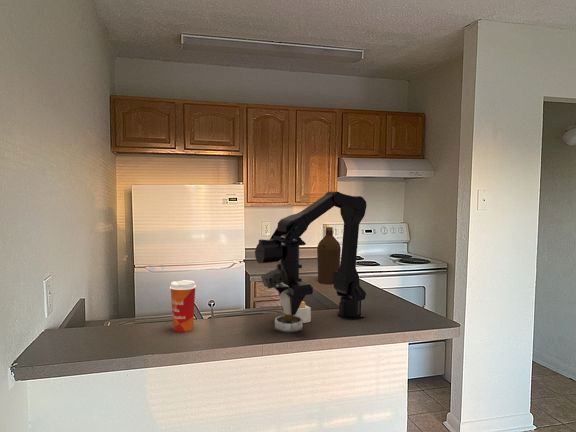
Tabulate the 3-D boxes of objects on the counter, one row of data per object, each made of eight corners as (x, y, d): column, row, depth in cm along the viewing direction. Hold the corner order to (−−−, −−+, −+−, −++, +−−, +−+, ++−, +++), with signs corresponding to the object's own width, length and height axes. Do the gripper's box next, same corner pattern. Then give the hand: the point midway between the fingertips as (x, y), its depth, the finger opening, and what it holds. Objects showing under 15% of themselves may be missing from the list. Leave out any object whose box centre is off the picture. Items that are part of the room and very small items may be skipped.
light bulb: (300, 320, 130) (301, 287, 129) (296, 326, 124) (296, 292, 123) (282, 318, 131) (282, 286, 131) (276, 324, 126) (276, 290, 125)
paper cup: (165, 328, 126) (165, 281, 125) (189, 323, 131) (188, 278, 130) (177, 335, 120) (176, 286, 119) (201, 330, 125) (201, 283, 124)
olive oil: (340, 285, 187) (341, 228, 186) (316, 284, 188) (317, 228, 186) (339, 280, 198) (340, 226, 196) (316, 279, 198) (317, 226, 197)
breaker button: (301, 310, 136) (301, 300, 136) (305, 312, 134) (305, 302, 134) (294, 311, 135) (295, 301, 135) (298, 313, 133) (298, 303, 133)
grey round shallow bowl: (294, 322, 133) (294, 314, 133) (307, 330, 126) (307, 321, 126) (270, 325, 130) (270, 317, 129) (282, 334, 122) (282, 325, 122)
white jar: (303, 317, 138) (303, 303, 138) (310, 321, 134) (310, 306, 134) (289, 319, 136) (289, 304, 136) (296, 323, 132) (296, 308, 131)
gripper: (252, 257, 131) (252, 307, 132) (278, 268, 115) (277, 324, 116) (285, 255, 136) (284, 303, 137) (314, 265, 119) (313, 319, 120)
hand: (289, 312), depth 127 cm, fingers closed on light bulb, 5 cm apart
